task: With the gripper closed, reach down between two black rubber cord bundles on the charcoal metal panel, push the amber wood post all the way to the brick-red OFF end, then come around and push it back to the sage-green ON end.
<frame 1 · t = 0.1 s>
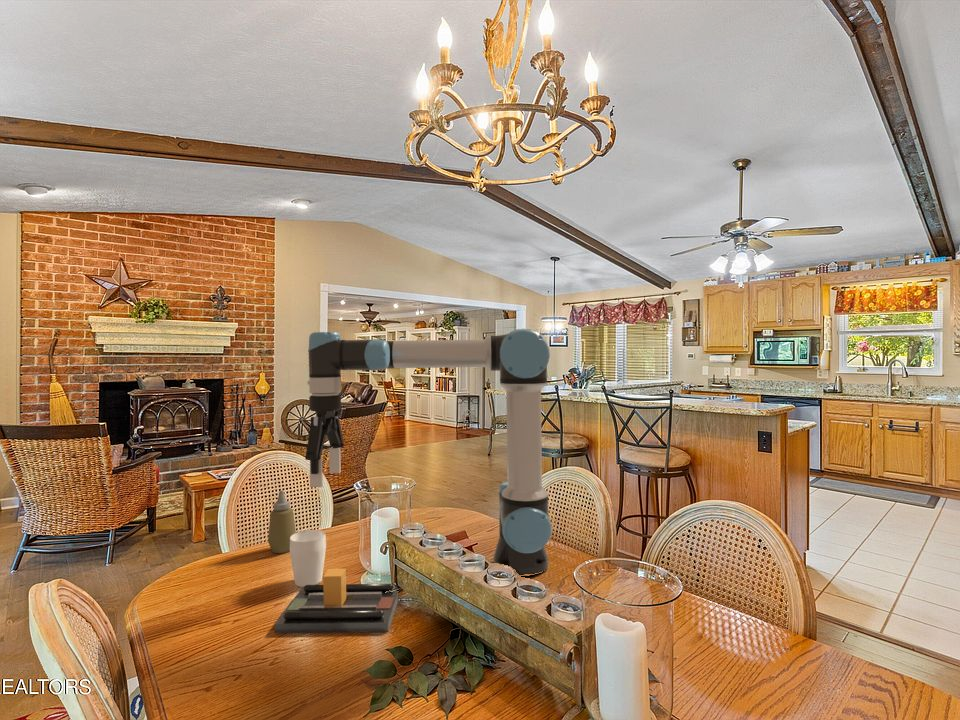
hand: (326, 479, 123), 28 cm above the table, fingers open, 13 cm apart
amber wood post: (335, 587, 113), point 6 cm above the table, slide at 1.5 cm
squeeze bottle: (282, 550, 150), on the table
panel: (341, 612, 113), on the table
cup: (308, 582, 129), on the table
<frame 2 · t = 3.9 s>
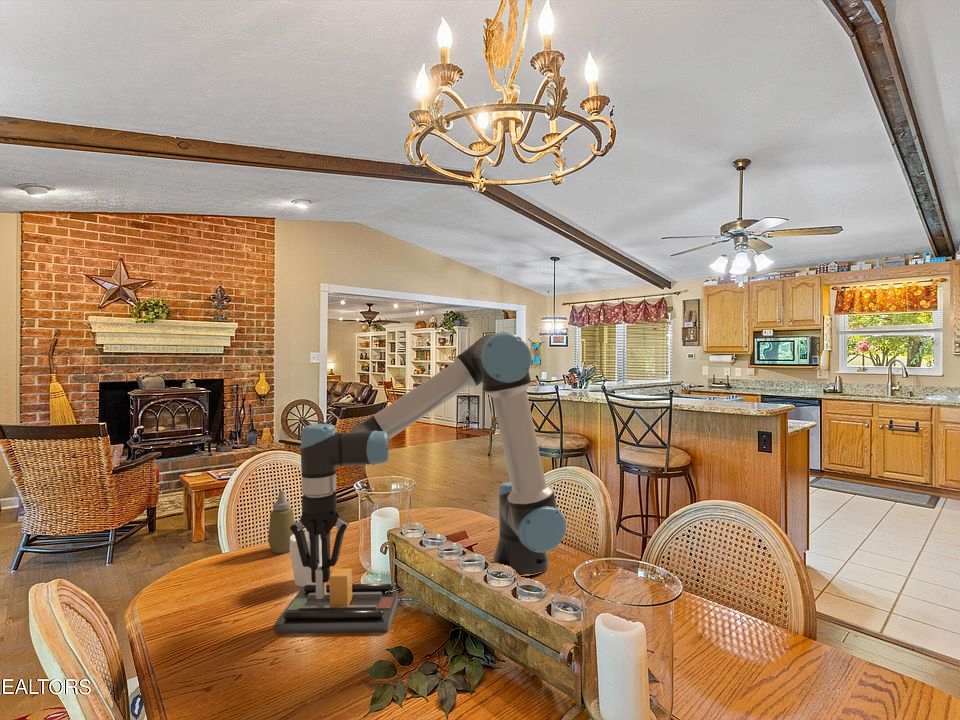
hand: (321, 595, 113), 4 cm above the table, fingers closed
amber wood post: (340, 587, 113), point 6 cm above the table, slide at 0.1 cm, touching gripper
everything else where it was.
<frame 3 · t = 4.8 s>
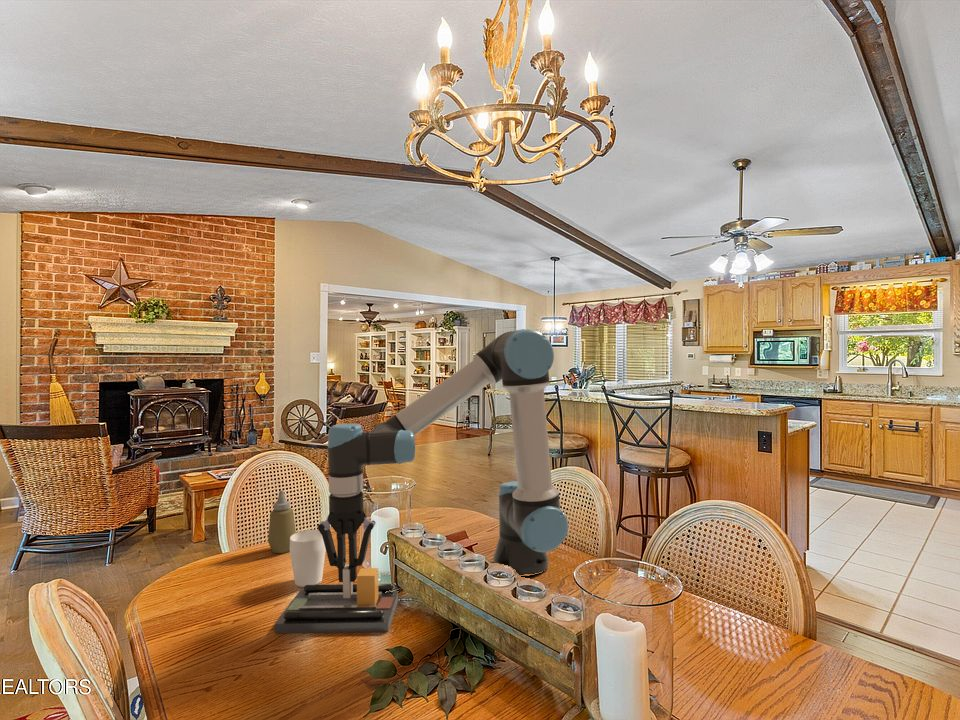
hand: (348, 595, 113), 4 cm above the table, fingers closed
amber wood post: (367, 587, 113), point 6 cm above the table, slide at -6.0 cm, touching gripper
everything else where it was.
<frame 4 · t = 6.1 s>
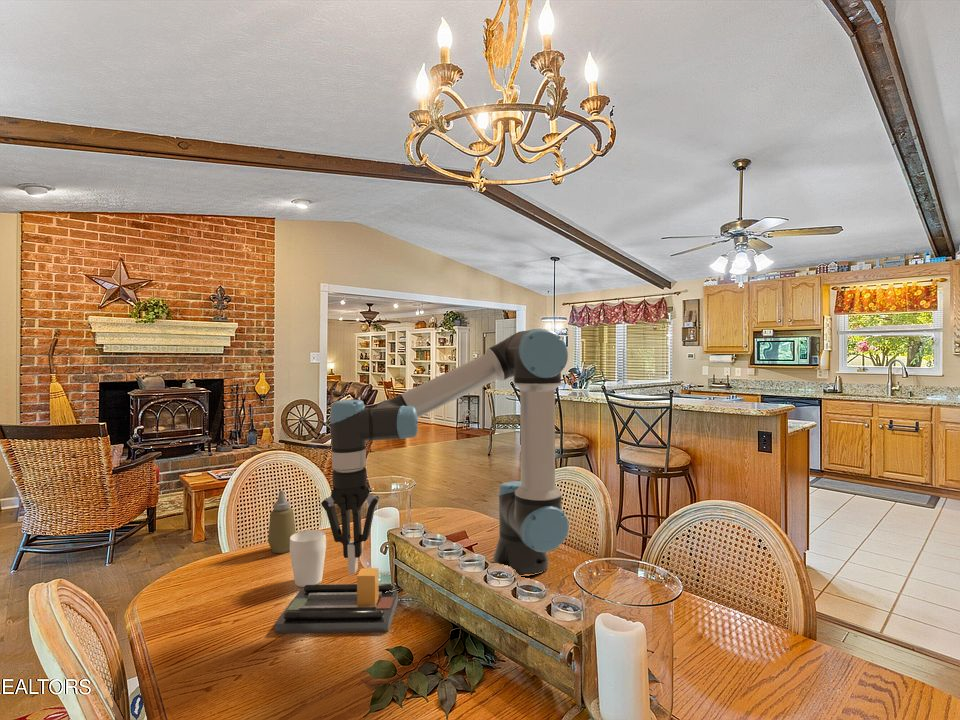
hand: (353, 571, 113), 10 cm above the table, fingers closed
amber wood post: (368, 587, 113), point 6 cm above the table, slide at -6.0 cm
everything else where it was.
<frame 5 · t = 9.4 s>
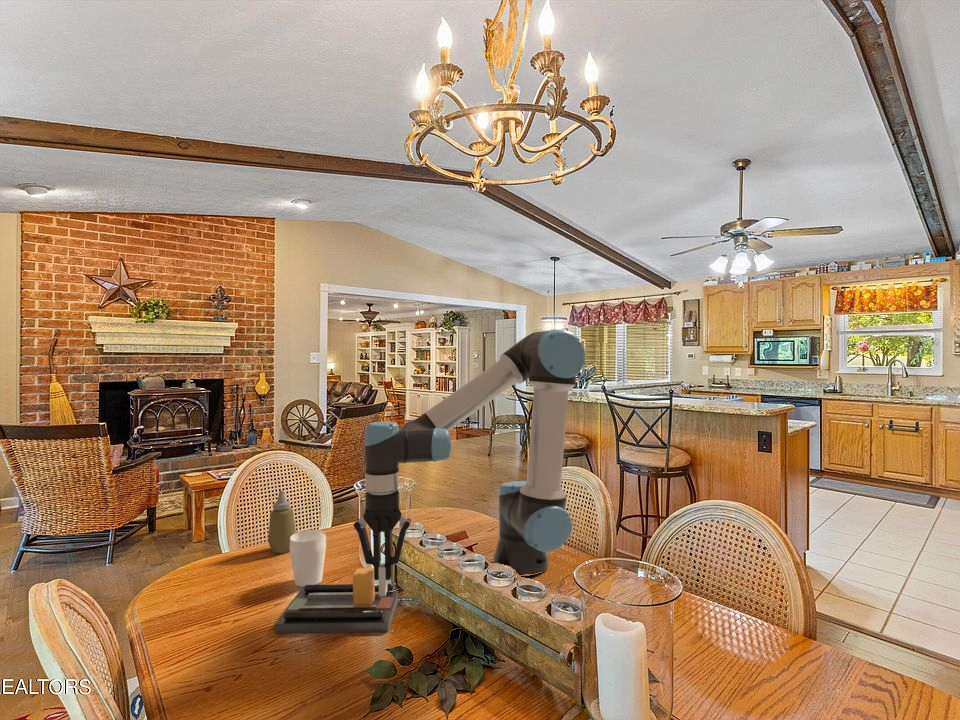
hand: (383, 593, 113), 4 cm above the table, fingers closed
amber wood post: (364, 587, 113), point 6 cm above the table, slide at -5.1 cm, touching gripper
everything else where it was.
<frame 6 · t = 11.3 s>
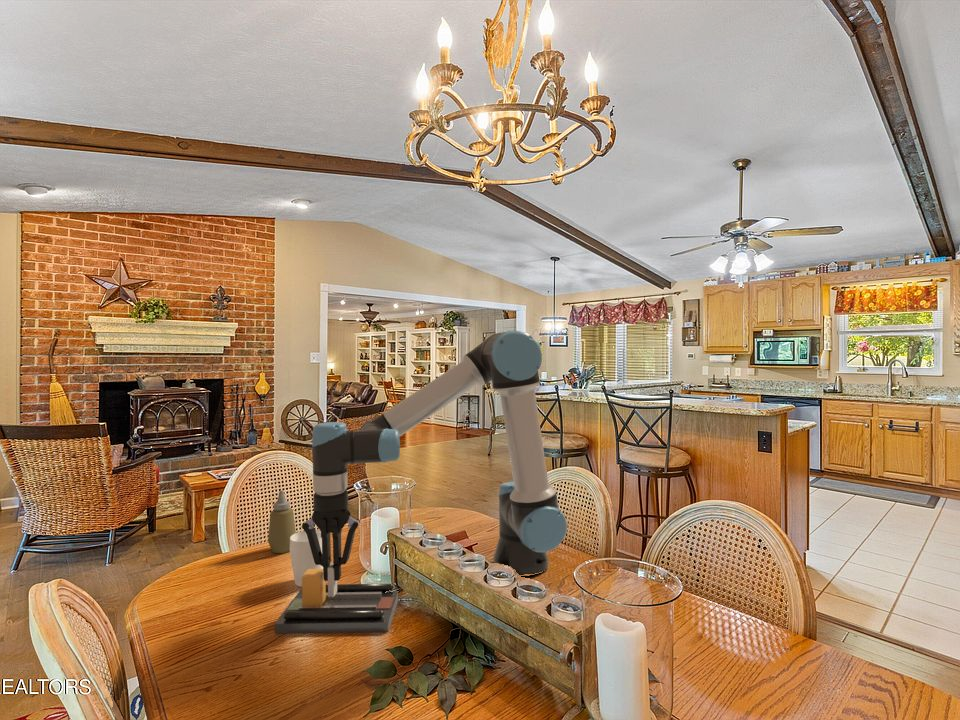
hand: (332, 593, 113), 4 cm above the table, fingers closed
amber wood post: (314, 588, 113), point 6 cm above the table, slide at 6.3 cm, touching gripper
everything else where it was.
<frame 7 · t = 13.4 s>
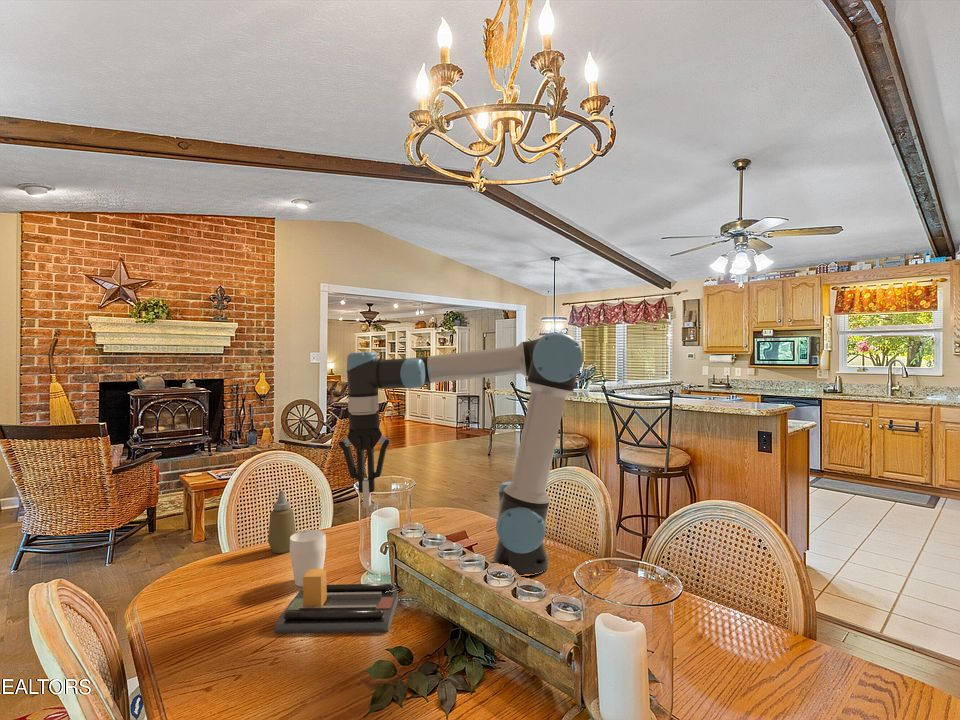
hand: (367, 504, 127), 21 cm above the table, fingers closed
amber wood post: (315, 587, 113), point 6 cm above the table, slide at 6.0 cm
everything else where it was.
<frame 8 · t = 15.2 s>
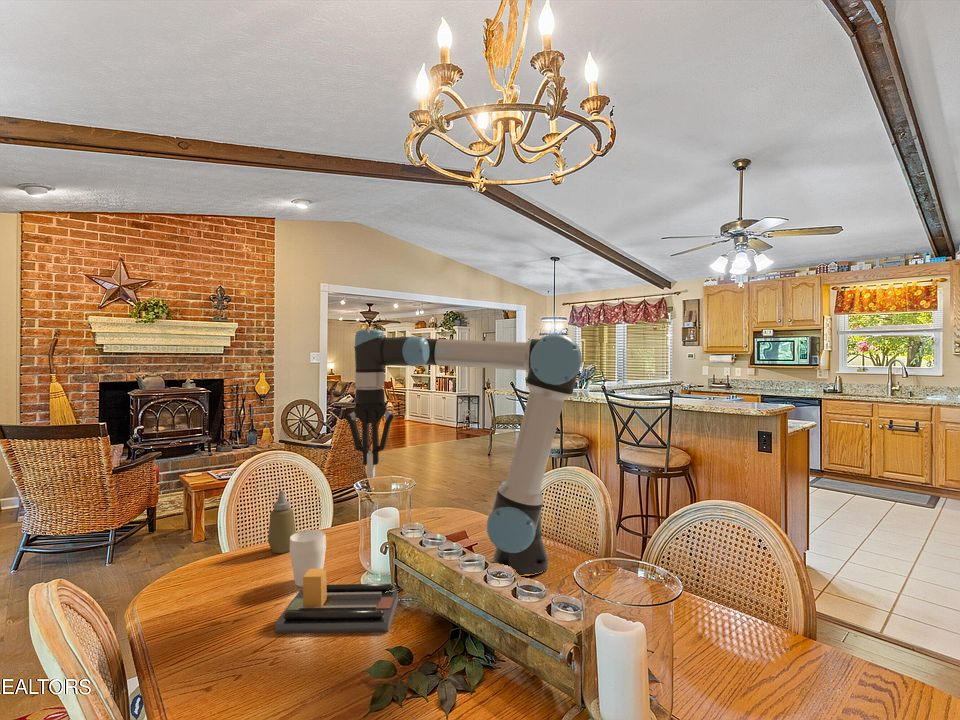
hand: (371, 476, 132), 26 cm above the table, fingers closed
nothing on the table moved.
at the end: amber wood post slide at 6.0 cm; amber wood post touching nothing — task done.
